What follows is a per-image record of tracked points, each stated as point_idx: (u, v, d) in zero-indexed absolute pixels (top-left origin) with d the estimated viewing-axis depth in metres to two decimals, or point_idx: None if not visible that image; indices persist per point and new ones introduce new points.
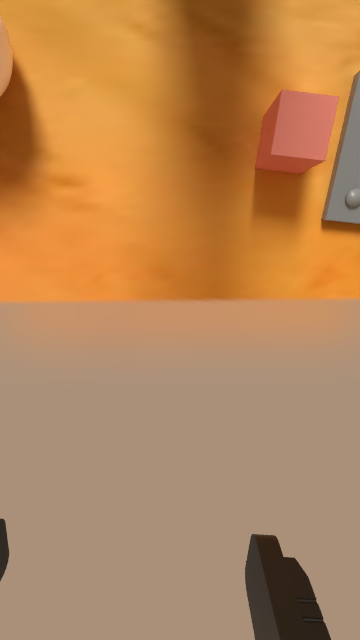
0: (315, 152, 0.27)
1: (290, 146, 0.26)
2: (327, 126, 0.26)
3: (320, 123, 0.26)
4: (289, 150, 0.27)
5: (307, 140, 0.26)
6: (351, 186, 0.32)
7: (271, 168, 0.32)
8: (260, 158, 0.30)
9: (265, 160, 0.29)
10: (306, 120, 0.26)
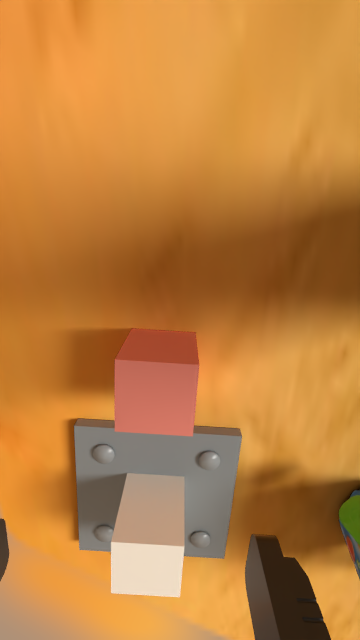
0: (123, 418, 0.18)
1: (127, 385, 0.18)
2: (156, 428, 0.19)
3: (159, 419, 0.18)
4: (122, 384, 0.18)
5: (138, 406, 0.18)
6: (117, 448, 0.25)
7: None
8: (135, 336, 0.21)
9: None
10: (162, 401, 0.18)
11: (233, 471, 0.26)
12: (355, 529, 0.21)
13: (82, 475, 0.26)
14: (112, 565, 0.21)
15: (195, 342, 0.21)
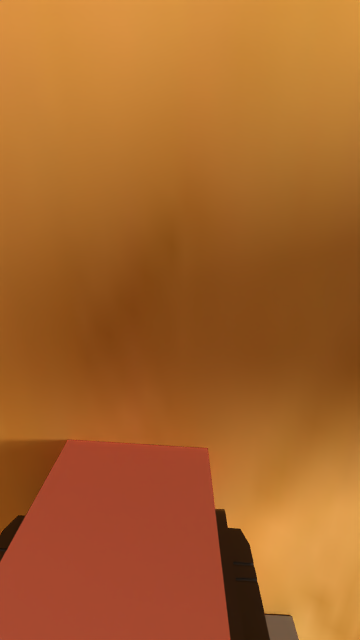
0: None
1: None
2: None
3: None
4: None
5: None
6: None
7: None
8: (62, 485, 0.09)
9: None
10: None
11: None
12: None
13: None
14: None
15: (211, 504, 0.08)
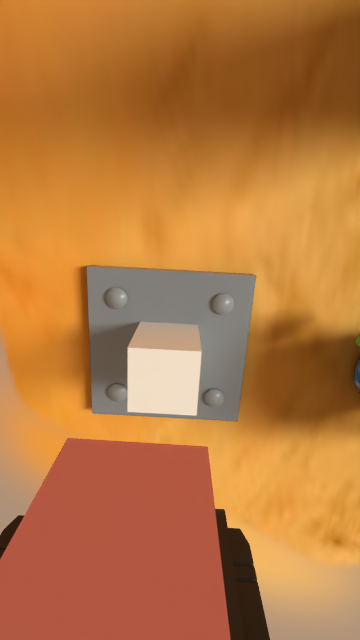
0: None
1: None
2: None
3: None
4: None
5: None
6: (130, 292, 0.25)
7: None
8: (62, 483, 0.09)
9: (9, 548, 0.07)
10: None
11: (247, 317, 0.25)
12: None
13: (95, 325, 0.26)
14: (128, 377, 0.20)
15: (211, 502, 0.08)
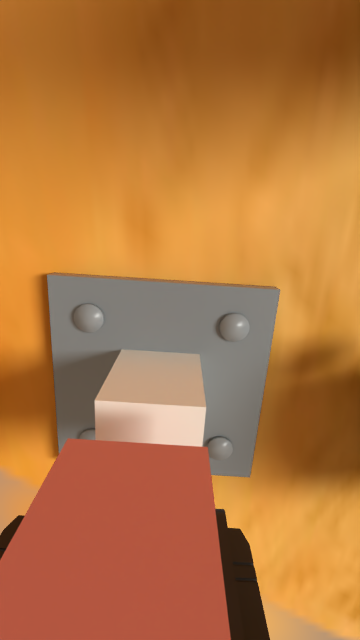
0: None
1: None
2: None
3: None
4: None
5: None
6: (107, 310, 0.18)
7: None
8: (62, 483, 0.09)
9: (9, 548, 0.07)
10: None
11: (266, 345, 0.19)
12: None
13: (61, 354, 0.19)
14: None
15: (211, 503, 0.08)
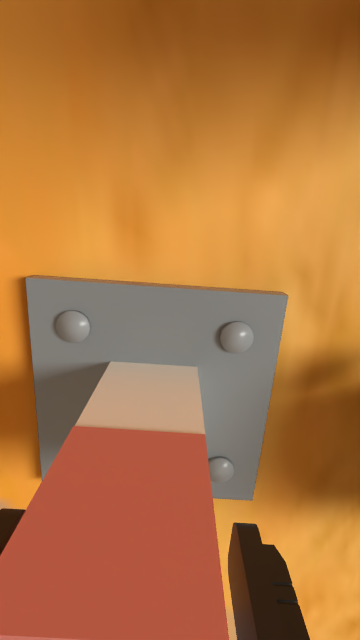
0: None
1: None
2: None
3: None
4: None
5: None
6: (94, 317, 0.16)
7: None
8: (69, 465, 0.09)
9: (23, 520, 0.08)
10: None
11: (272, 357, 0.17)
12: None
13: (42, 366, 0.17)
14: None
15: (208, 483, 0.09)
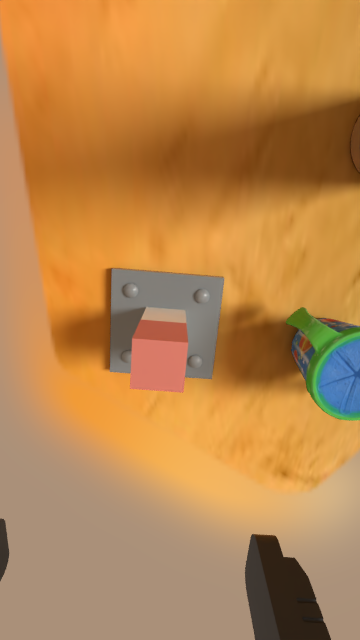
0: (136, 379, 0.27)
1: (140, 356, 0.27)
2: (159, 386, 0.27)
3: (161, 380, 0.27)
4: (136, 355, 0.27)
5: (146, 371, 0.27)
6: (140, 286, 0.37)
7: None
8: (143, 325, 0.30)
9: None
10: (163, 367, 0.27)
11: (218, 305, 0.38)
12: (294, 320, 0.33)
13: (115, 309, 0.38)
14: None
15: (186, 329, 0.30)
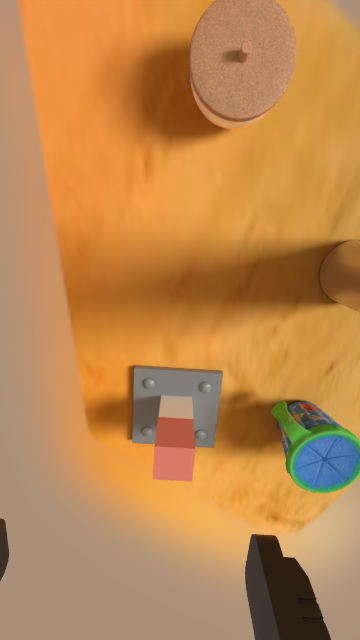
0: (157, 472, 0.37)
1: (160, 457, 0.37)
2: (174, 477, 0.37)
3: (175, 473, 0.37)
4: (157, 457, 0.37)
5: (165, 467, 0.37)
6: (156, 380, 0.47)
7: None
8: (161, 425, 0.40)
9: (156, 435, 0.38)
10: (176, 465, 0.37)
11: (218, 394, 0.47)
12: (276, 414, 0.43)
13: (136, 397, 0.48)
14: None
15: (193, 429, 0.40)
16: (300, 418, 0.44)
